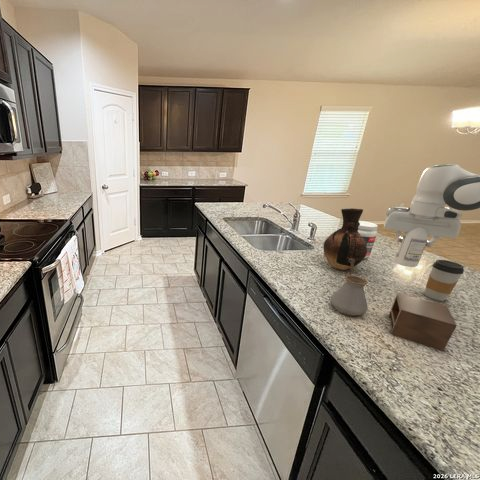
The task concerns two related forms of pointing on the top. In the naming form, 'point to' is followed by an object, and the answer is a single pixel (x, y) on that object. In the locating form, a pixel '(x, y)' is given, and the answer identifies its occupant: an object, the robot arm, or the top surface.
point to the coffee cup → (443, 279)
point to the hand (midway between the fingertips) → (413, 244)
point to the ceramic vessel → (346, 242)
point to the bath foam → (411, 247)
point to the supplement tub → (368, 234)
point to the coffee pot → (351, 295)
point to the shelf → (422, 321)
